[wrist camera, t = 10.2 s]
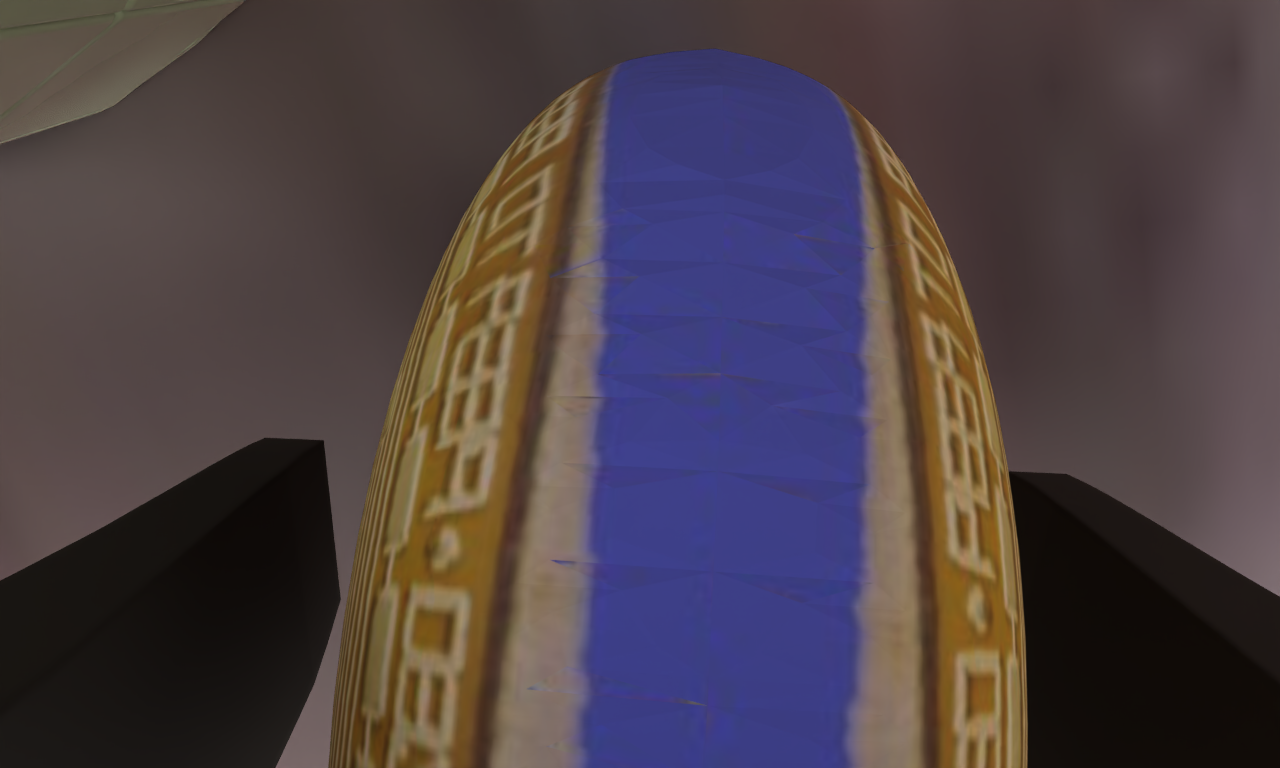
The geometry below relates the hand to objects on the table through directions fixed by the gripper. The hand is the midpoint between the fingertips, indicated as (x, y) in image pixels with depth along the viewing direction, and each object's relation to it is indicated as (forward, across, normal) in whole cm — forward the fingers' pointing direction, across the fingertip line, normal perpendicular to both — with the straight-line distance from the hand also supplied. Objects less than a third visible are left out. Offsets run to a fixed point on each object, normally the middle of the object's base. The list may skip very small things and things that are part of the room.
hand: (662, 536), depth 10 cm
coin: (+3, 0, 0) cm, 3 cm away
